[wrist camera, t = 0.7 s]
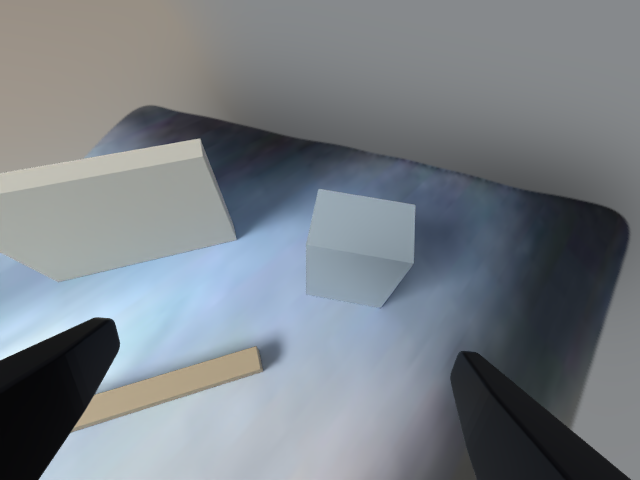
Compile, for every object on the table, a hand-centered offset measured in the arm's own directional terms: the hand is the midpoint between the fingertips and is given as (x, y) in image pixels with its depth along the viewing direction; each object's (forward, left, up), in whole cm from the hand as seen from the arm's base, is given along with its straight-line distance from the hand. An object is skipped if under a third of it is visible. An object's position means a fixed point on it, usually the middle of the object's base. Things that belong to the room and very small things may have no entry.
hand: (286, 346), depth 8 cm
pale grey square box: (+7, -6, -15) cm, 17 cm away
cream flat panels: (+8, +9, -15) cm, 19 cm away
